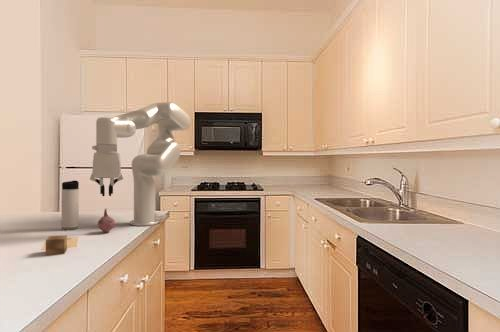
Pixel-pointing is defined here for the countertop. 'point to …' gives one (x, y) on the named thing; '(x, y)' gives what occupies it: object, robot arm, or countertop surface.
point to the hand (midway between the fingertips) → (106, 195)
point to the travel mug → (70, 205)
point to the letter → (70, 243)
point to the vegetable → (106, 223)
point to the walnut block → (56, 245)
